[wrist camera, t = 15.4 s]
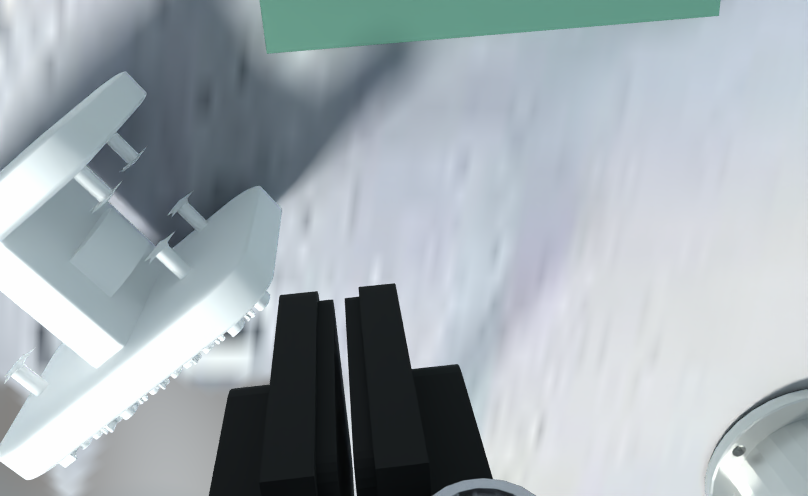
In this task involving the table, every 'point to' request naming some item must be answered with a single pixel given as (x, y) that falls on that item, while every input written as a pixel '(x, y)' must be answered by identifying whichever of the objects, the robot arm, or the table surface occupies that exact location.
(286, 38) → the board
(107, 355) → the cable organizer
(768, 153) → the table surface
